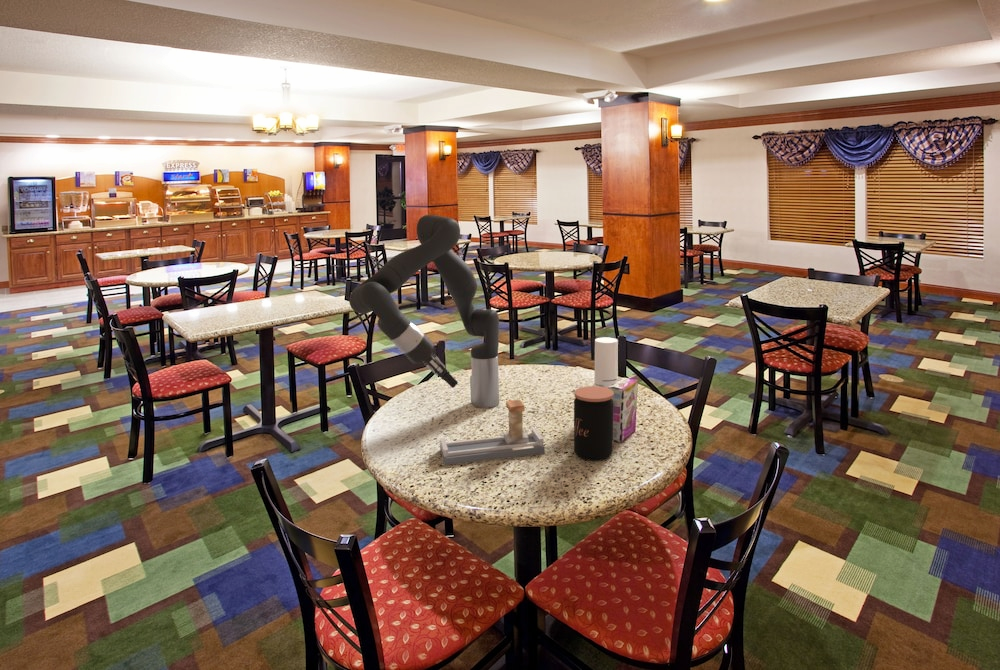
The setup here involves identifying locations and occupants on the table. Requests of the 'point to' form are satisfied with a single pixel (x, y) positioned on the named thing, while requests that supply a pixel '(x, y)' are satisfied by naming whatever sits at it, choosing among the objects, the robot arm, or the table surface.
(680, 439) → the table surface
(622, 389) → the candy bar box
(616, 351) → the cylindrical container
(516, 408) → the slider
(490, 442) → the track
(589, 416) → the coffee jar
